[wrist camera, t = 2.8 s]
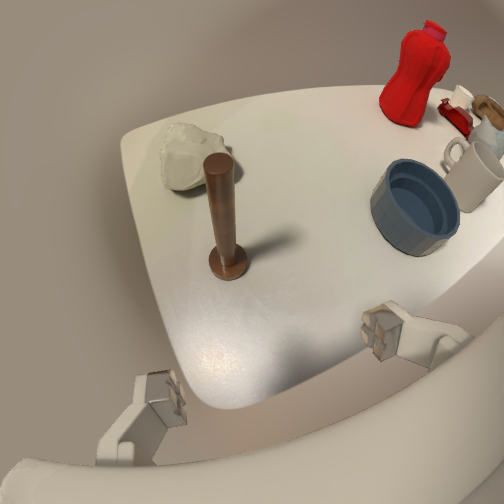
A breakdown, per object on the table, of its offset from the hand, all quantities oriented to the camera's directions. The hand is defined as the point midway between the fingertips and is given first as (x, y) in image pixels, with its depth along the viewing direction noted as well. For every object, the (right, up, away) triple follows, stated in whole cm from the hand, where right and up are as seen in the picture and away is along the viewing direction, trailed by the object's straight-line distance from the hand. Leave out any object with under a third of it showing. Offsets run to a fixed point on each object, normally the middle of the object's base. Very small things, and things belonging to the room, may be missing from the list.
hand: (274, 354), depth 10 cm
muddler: (-4, +3, +22) cm, 23 cm away
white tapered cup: (+62, +48, +45) cm, 91 cm away
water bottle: (+32, +34, +38) cm, 60 cm away
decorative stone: (-9, +16, +28) cm, 33 cm away
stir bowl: (+23, +9, +26) cm, 36 cm away
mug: (+38, +16, +30) cm, 51 cm away
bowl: (+77, +48, +46) cm, 102 cm away
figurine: (+49, +24, +34) cm, 64 cm away
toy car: (+53, +37, +40) cm, 76 cm away
